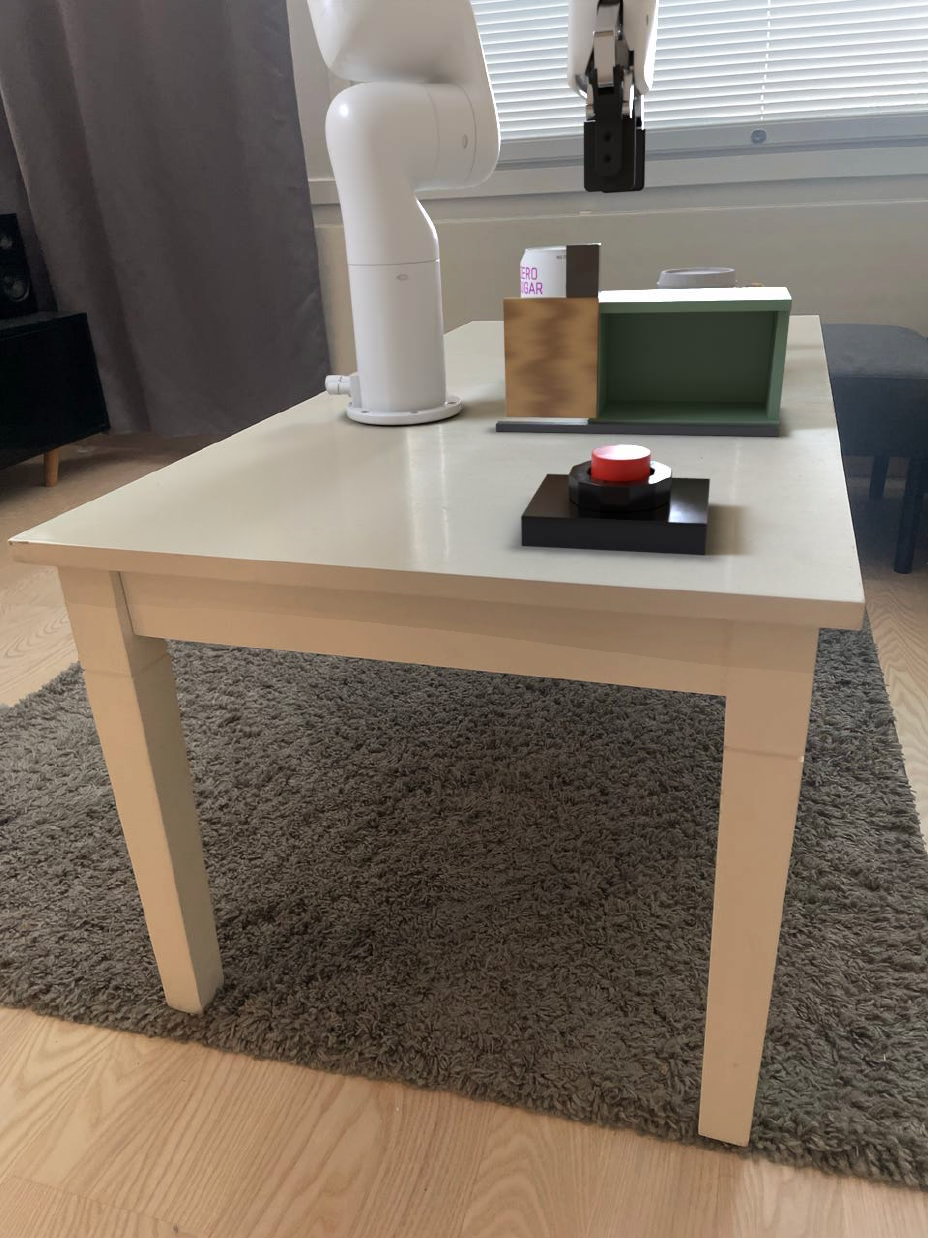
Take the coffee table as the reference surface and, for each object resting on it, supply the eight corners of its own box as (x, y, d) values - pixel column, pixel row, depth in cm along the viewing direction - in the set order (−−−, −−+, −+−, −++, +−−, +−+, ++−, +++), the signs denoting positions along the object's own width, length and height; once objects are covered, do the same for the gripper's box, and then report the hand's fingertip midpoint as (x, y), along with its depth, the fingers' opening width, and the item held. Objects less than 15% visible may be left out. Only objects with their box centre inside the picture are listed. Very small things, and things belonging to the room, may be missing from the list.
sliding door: (505, 417, 90) (501, 247, 84) (507, 414, 91) (503, 246, 85) (596, 418, 88) (599, 243, 81) (597, 416, 89) (600, 243, 82)
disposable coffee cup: (716, 381, 109) (724, 274, 104) (641, 376, 114) (645, 274, 109) (740, 367, 116) (748, 266, 111) (668, 363, 121) (673, 267, 116)
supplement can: (594, 366, 121) (597, 245, 115) (567, 377, 115) (567, 250, 109) (540, 363, 125) (540, 245, 119) (511, 374, 119) (508, 250, 113)
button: (587, 484, 62) (587, 458, 61) (594, 467, 65) (595, 443, 64) (647, 486, 61) (648, 460, 60) (651, 469, 64) (653, 444, 63)
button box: (521, 546, 61) (520, 489, 60) (547, 501, 70) (546, 450, 68) (704, 556, 58) (709, 496, 57) (707, 507, 67) (711, 453, 65)
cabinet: (495, 431, 91) (491, 305, 86) (518, 406, 101) (516, 292, 96) (779, 436, 85) (793, 300, 79) (773, 409, 94) (785, 287, 89)
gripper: (576, -71, 64) (577, 195, 71) (534, -156, 49) (541, 194, 56) (685, -86, 63) (676, 189, 70) (677, -179, 47) (666, 185, 54)
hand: (616, 191), depth 63 cm, fingers open, 9 cm apart
